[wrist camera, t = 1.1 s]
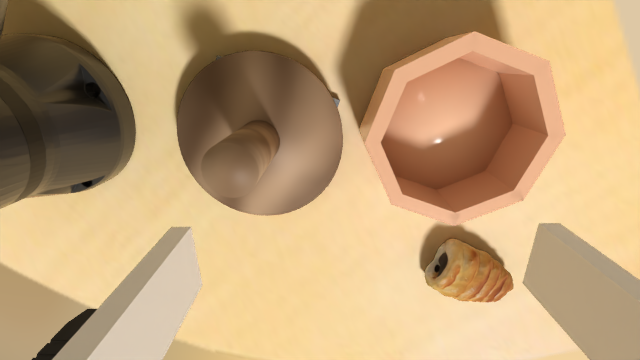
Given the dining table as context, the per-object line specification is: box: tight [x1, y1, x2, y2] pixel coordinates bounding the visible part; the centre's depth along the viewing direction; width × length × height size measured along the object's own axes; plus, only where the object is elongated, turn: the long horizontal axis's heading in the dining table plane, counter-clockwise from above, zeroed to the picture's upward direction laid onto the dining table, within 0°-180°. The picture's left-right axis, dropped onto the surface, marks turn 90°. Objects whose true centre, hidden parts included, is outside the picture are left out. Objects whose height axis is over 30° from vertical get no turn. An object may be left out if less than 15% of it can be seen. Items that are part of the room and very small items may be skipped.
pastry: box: [425, 239, 513, 302], centre depth 34 cm, size 9×7×4 cm
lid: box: [177, 51, 343, 215], centre depth 26 cm, size 16×16×10 cm
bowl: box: [359, 31, 566, 226], centre depth 28 cm, size 14×14×6 cm
